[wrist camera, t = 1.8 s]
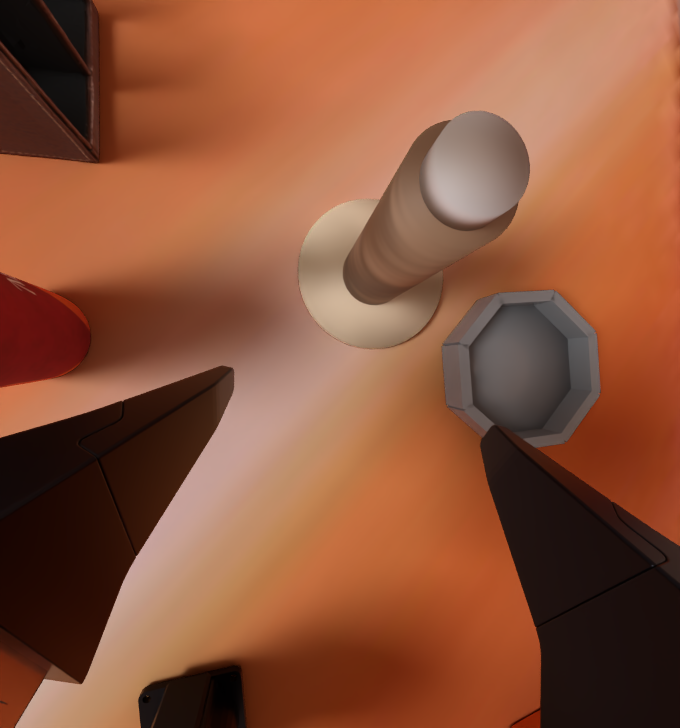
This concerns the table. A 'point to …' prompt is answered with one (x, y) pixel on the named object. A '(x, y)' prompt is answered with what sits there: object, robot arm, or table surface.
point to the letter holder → (49, 79)
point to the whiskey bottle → (529, 721)
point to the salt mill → (439, 205)
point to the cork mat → (334, 301)
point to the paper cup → (38, 333)
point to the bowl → (522, 366)
